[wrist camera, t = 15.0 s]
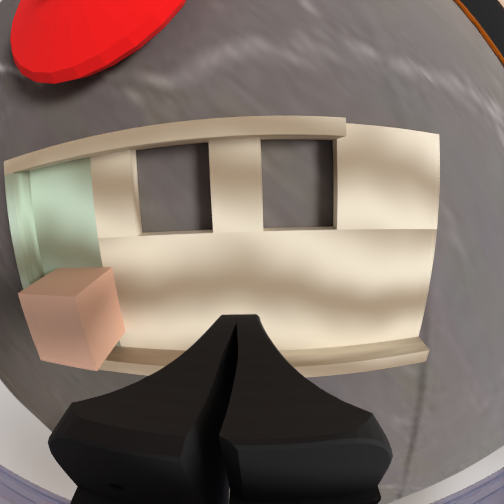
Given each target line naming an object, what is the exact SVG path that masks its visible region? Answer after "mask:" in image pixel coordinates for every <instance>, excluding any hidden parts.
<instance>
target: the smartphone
mask: <svg viewBox="0 0 504 504" xmlns="http://www.w3.org/2000/svg"><path fill="white" fill-rule="evenodd" d="M454 1H455V2H456V3H457V4H458V5H459V6H460V7H461V8H462V10H463V11H464V13H465V14H466V15H467V16H468V18H469V19H470V20H471V21H472V23H474V24H475V25H476V27H477V28H478V29H479V32H480V33H481V34H482V35H483V37H484V38H485V40H486V41H487V42H488V44H489V45H490V46H491V48H492V49H493V51H494V52H495V54H496V55H497V56H498V57H499V59H500V60H501V62H502V63H503V65H504V7H503V6H502V5H501V4H500V2H499V1H498V0H454Z"/></svg>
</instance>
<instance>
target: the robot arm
mask: <svg viewBox="0 0 504 504" xmlns="http://www.w3.org/2000/svg"><path fill="white" fill-rule="evenodd" d="M48 445H49V448H50V451H51V453H52V455H53V457H54V458H55V460H56V461H57V462H58V464H59V465H60V466H61V467H62V469H63V470H64V471H65V472H66V473H67V475H68V476H69V477H70V478H71V479H72V480H73V481H74V483H75V484H76V485H77V486H78V487H77V489H76V492H75V494H74V496H73V498H72V501H70V500H68V499H66V498H63V497H61V496H59V495H57V494H54V493H52V492H50V491H48V490H46V489H44V488H42V487H40V486H38V485H36V484H34V483H32V482H30V481H28V480H26V479H24V478H22V477H20V476H19V475H17V474H15V473H13V472H12V471H10V470H8V469H7V468H5V467H3V466H2V465H0V504H378V502H379V501H380V500H381V495H380V492H379V489H378V484H379V483H380V481H381V479H382V478H383V476H384V474H385V472H386V471H387V469H388V467H389V465H390V463H391V460H392V457H393V455H392V450H391V447H390V444H389V442H388V439H387V437H386V435H385V433H384V432H383V430H382V428H381V426H380V425H379V423H378V422H377V420H376V418H375V417H374V415H373V414H372V413H370V412H368V411H365V410H363V409H360V408H358V407H356V406H353V405H351V404H348V403H346V402H344V401H342V400H340V399H338V398H336V397H334V396H332V395H330V394H329V393H327V392H325V391H324V390H322V389H320V388H319V387H318V386H316V385H315V384H313V383H312V382H310V381H309V380H308V379H306V378H305V377H304V376H303V375H302V374H300V373H299V372H298V371H297V370H296V369H295V368H294V367H293V366H292V365H291V364H290V363H289V362H288V361H287V360H286V359H285V358H284V356H283V355H282V354H281V353H280V352H279V350H278V349H277V348H276V346H275V345H274V344H273V342H272V341H271V339H270V338H269V336H268V335H267V333H266V331H265V329H264V327H263V325H262V323H261V321H260V317H259V316H258V315H257V314H231V315H221V316H220V317H219V318H218V319H217V320H216V321H215V322H214V323H213V324H212V326H211V327H210V328H209V329H208V330H207V331H206V332H205V333H204V334H203V335H202V336H201V337H200V338H199V339H198V340H197V341H196V342H195V343H194V344H193V345H192V346H191V347H190V348H189V349H187V350H186V351H185V352H184V353H183V354H182V355H180V356H179V357H178V358H176V359H175V360H174V361H172V362H171V363H169V364H168V365H166V366H165V367H163V368H162V369H160V370H158V371H157V372H155V373H153V374H151V375H149V376H147V377H146V378H144V379H142V380H140V381H138V382H136V383H134V384H131V385H129V386H127V387H124V388H122V389H119V390H116V391H114V392H111V393H108V394H105V395H102V396H98V397H94V398H90V399H86V400H82V401H78V402H73V403H71V405H70V406H69V408H68V409H67V411H66V412H65V414H64V415H63V417H62V418H61V420H60V421H59V423H58V424H57V426H56V427H55V429H54V431H53V432H52V434H51V436H50V437H49V440H48ZM229 487H230V499H229ZM430 504H504V467H503V468H502V469H500V470H498V471H497V472H495V473H493V474H491V475H490V476H488V477H486V478H484V479H483V480H481V481H479V482H477V483H475V484H473V485H471V486H469V487H467V488H465V489H463V490H461V491H458V492H456V493H454V494H452V495H450V496H447V497H445V498H443V499H440V500H438V501H435V502H433V503H430Z"/></svg>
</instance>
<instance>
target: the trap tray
mask: <svg viewBox="0 0 504 504" xmlns="http://www.w3.org/2000/svg"><path fill="white" fill-rule="evenodd" d="M261 140H333V226H329V227H278V228H263V203H262V170H261ZM196 143H209V165H210V187H211V205H212V222H213V230H189V231H167V232H146V233H142V225H141V215H140V205H139V193H138V179H137V162H136V150H142V149H150V148H158V147H166V146H175V145H185V144H196ZM4 174H5V189H6V200H7V209H8V217H9V224H10V230H11V236H12V242H13V247H14V253H15V257H16V262H17V267H18V271H19V275H20V279H21V283H22V287H23V290H24V289H25V288H27V287H28V286H30V285H31V284H33V283H35V282H36V281H38V280H39V279H41V278H42V277H44V276H46V275H47V274H49V273H50V272H52V271H54V270H55V269H57V268H80V267H112V269H113V275H114V280H115V286H116V291H117V295H118V300H119V305H120V309H121V314H122V318H123V322H124V326H125V330H126V331H125V333H124V334H123V335H122V337H121V338H120V340H119V341H118V342H117V344H116V345H115V347H114V348H113V349H112V351H111V352H110V354H109V355H108V356H107V358H106V359H105V361H104V362H103V364H102V365H101V366H100V368H99V369H100V370H106V371H114V372H121V373H129V374H138V375H148V376H149V375H151V374H153V373H155V372H157V371H158V370H160V369H162V368H163V367H165V366H166V365H168V364H169V363H171V362H172V361H174V360H175V359H176V358H178V357H179V356H180V355H182V354H183V353H184V352H185V351H186V350H187V349H189V348H190V347H191V346H192V345H193V344H194V343H195V342H196V341H197V340H198V339H199V338H200V337H201V336H202V335H203V334H204V333H205V332H206V331H207V330H208V329H209V328H210V327H211V326H212V324H213V323H214V322H215V321H216V320H217V319H218V318H219V317H220V316H221V315H231V314H257V315H258V316H259V317H260V321H261V323H262V325H263V327H264V329H265V331H266V333H267V335H268V336H269V338H270V339H271V341H272V342H273V344H274V345H275V346H276V348H277V349H278V350H279V352H280V353H281V354H282V355H283V356H284V358H285V359H286V360H287V361H288V362H289V363H290V364H291V365H292V366H293V367H294V368H295V369H296V370H297V371H298V372H299V373H300V374H302V375H303V376H304V377H318V376H329V375H339V374H348V373H356V372H364V371H371V370H378V369H385V368H391V367H397V366H403V365H408V364H413V363H419V362H423V361H426V360H427V356H428V353H429V349H428V348H427V347H426V345H425V344H424V343H423V342H422V341H421V339H420V338H419V337H418V336H419V332H420V328H421V323H422V319H423V314H424V310H425V305H426V300H427V295H428V289H429V284H430V278H431V272H432V265H433V258H434V250H435V242H436V232H437V221H438V207H439V184H440V147H439V135H438V134H432V133H426V132H420V131H413V130H406V129H399V128H390V127H382V126H372V125H360V124H347V123H346V118H340V117H321V116H247V117H227V118H213V119H201V120H191V121H181V122H173V123H165V124H158V125H151V126H144V127H138V128H132V129H126V130H121V131H116V132H110V133H105V134H101V135H96V136H91V137H87V138H83V139H78V140H74V141H70V142H66V143H63V144H59V145H55V146H52V147H48V148H45V149H41V150H38V151H34V152H31V153H28V154H25V155H22V156H19V157H16V158H13V159H10V160H7V161H4Z"/></svg>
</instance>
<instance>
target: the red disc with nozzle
mask: <svg viewBox="0 0 504 504" xmlns="http://www.w3.org/2000/svg"><path fill="white" fill-rule="evenodd" d="M185 2H186V0H21V1H20V3H19V6H18V8H17V11H16V14H15V16H14V19H13V23H12V30H11V37H10V40H11V47H12V53H13V59H14V62H15V64H16V66H17V67H18V69H19V70H20V72H21V73H22V75H24V76H26V77H28V78H29V79H31V80H33V81H35V82H41V83H53V84H56V83H61V82H66V81H70V80H75V79H80V78H85V77H89V76H91V75H93V74H95V73H97V72H100V71H102V70H104V69H107V68H109V67H111V66H114V65H115V64H117V63H118V62H120V61H121V60H123V59H124V58H126V57H127V56H129V55H131V54H132V53H134V52H135V51H137V50H139V49H140V48H141V47H142V46H143V45H145V44H146V43H147V42H148V41H149V40H150V39H152V38H153V37H154V36H155V35H156V34H158V33H159V32H160V31H161V30H162V29H164V28H165V26H166V25H167V24H168V23H169V22H170V20H171V19H172V18H173V17H174V16H175V15H176V14H177V13H178V11H179V10H180V9H181V8H182V7H183V6H184V4H185Z"/></svg>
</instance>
